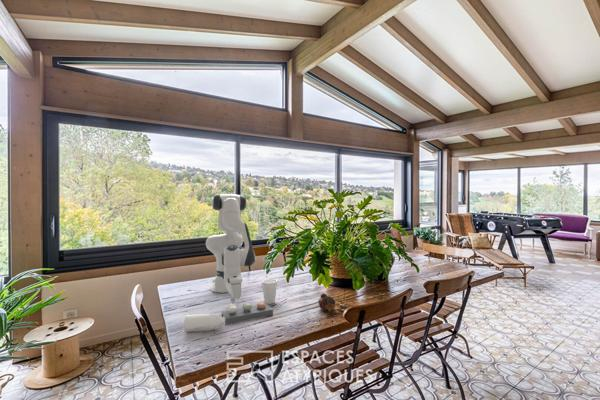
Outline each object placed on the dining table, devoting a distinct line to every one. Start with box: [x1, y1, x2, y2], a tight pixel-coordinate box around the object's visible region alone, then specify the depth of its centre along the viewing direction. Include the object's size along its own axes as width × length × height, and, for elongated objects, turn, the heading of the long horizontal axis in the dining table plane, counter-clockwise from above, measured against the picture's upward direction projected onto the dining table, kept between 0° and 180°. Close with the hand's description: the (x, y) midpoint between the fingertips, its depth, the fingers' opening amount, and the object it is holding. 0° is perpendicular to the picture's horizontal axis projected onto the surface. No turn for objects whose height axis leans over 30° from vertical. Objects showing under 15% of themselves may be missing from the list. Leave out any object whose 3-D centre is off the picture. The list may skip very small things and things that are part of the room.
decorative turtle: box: [318, 292, 336, 313], centre depth 163 cm, size 10×15×8 cm, turn 21°
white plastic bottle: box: [183, 313, 225, 333], centre depth 140 cm, size 8×19×8 cm, turn 95°
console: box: [221, 303, 274, 326], centre depth 156 cm, size 10×26×3 cm, turn 116°
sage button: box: [242, 302, 253, 312], centre depth 156 cm, size 5×5×5 cm
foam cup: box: [261, 278, 278, 305], centre depth 176 cm, size 10×9×13 cm
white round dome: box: [227, 305, 238, 315], centre depth 152 cm, size 5×5×5 cm
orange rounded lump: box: [256, 301, 266, 309], centre depth 159 cm, size 5×5×5 cm
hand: (232, 302), depth 152 cm, fingers closed
